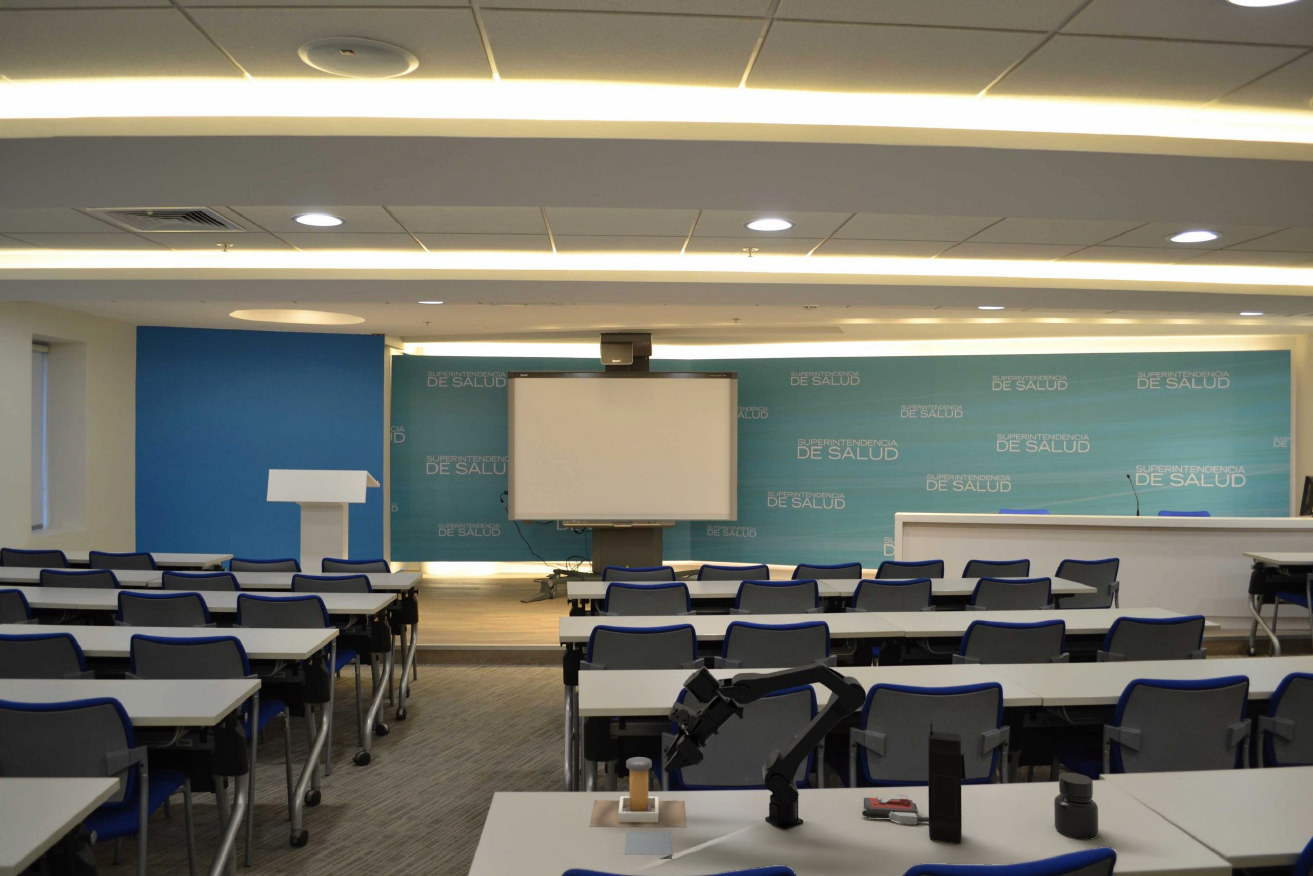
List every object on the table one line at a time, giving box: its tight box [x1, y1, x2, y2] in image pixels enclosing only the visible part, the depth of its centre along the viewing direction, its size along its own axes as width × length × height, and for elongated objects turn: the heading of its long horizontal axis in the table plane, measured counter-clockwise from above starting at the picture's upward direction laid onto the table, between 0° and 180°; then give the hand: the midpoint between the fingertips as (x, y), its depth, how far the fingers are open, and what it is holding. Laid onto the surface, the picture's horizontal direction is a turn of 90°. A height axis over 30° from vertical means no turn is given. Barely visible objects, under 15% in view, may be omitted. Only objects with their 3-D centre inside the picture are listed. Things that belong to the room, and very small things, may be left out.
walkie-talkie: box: [861, 794, 929, 825], centre depth 189 cm, size 9×4×20 cm
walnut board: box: [589, 799, 687, 828], centre depth 188 cm, size 22×14×1 cm, turn 90°
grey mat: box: [624, 831, 673, 860], centre depth 173 cm, size 10×10×1 cm
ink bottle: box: [1053, 772, 1099, 840], centre depth 182 cm, size 10×9×12 cm
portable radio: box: [927, 723, 967, 845], centre depth 179 cm, size 8×6×25 cm
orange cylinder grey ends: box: [625, 756, 653, 812], centre depth 188 cm, size 6×6×12 cm
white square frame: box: [618, 795, 659, 822], centre depth 188 cm, size 9×9×2 cm
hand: (666, 763), depth 188 cm, fingers open, 9 cm apart
